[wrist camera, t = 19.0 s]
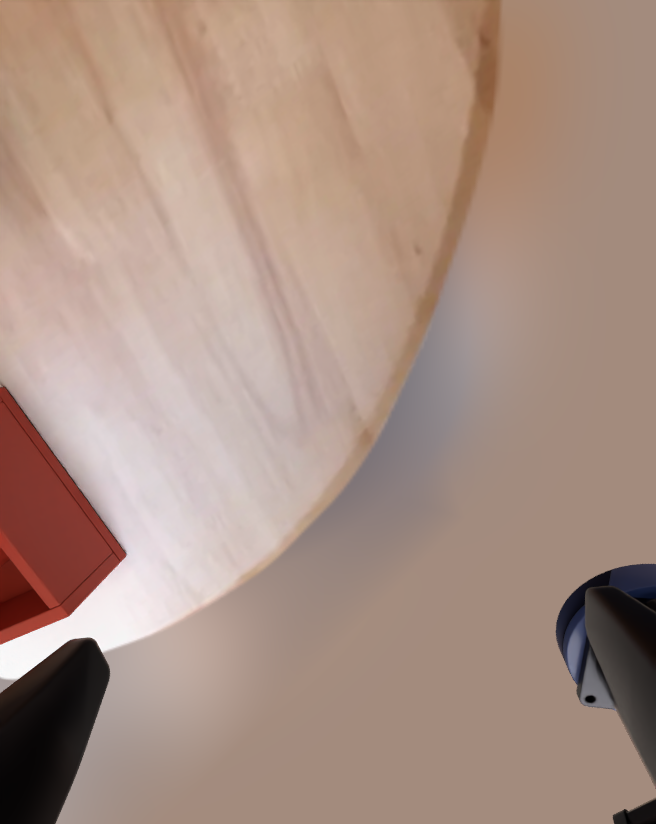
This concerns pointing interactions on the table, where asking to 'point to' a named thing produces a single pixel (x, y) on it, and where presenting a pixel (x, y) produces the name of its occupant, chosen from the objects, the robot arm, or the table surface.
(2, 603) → the red bin
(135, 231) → the table surface
